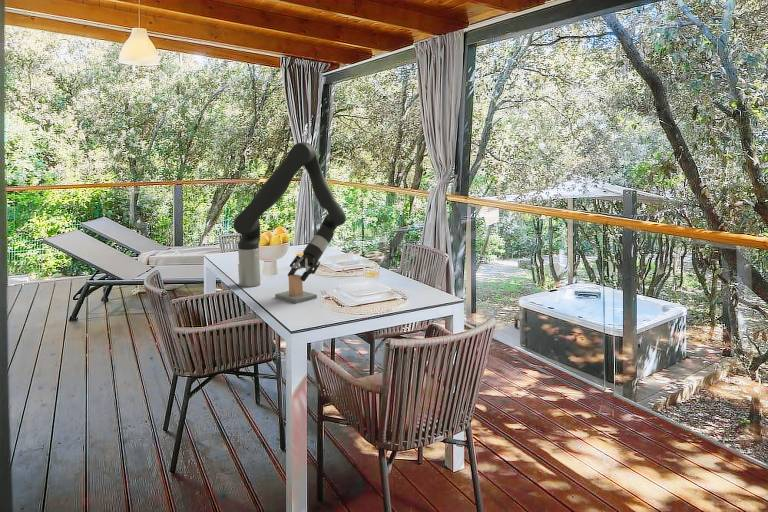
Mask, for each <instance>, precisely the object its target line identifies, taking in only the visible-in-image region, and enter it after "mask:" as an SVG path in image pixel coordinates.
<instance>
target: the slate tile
mask: <svg viewBox="0 0 768 512" xmlns="http://www.w3.org/2000/svg"><path fill="white" fill-rule="evenodd" d="M274 295H275V296H274V298H276V299H279V300H283V301H286V302H290V303H293V304H300V303H303V302H307V301H311V300H315V299H317V298H318V294H315V293H312V292H308V291H304V290H303V294H302V295H298V296H293V295H290V294H289V290H287V291H283V292H277V293H275V294H274Z"/></svg>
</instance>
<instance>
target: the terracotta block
mask: <svg viewBox="0 0 768 512" xmlns="http://www.w3.org/2000/svg"><path fill="white" fill-rule="evenodd" d="M301 276H302V274H301V275H300V274H296V273H295V274H294V275H290V276H289V277H288V291H289V294H290V295H293V296H298V295H302V294H303V291H304V290H303V281H302V280H301V279H300V278H301Z"/></svg>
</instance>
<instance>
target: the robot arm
mask: <svg viewBox="0 0 768 512" xmlns="http://www.w3.org/2000/svg"><path fill="white" fill-rule="evenodd" d="M303 167H304V168H305V171H306V173H307V174H308V176H309V180H310V183H311V186H312V190H313V194H314V195H315V197H316V200H317V201H318V204H319V206H320V207H321V208H322V209H325V210H326V212H327V214H326V215H325V217H324V218H323V220H322V222H321V224H320V227H319V228H318V230H317V231H316V232H315V234H314V235H313V237H312V238H311V239H310V240H309V242H308V244H307V245H306V247H304V249H303V250H302V256H299V254H298V255H296V256H295V257H294V258H293V260H292V262H291V263H290V264H289V267H290V270H289V272H288V273H287V277H288V278H289V276H290V275H295V274H296V273H297V271H298V270H302V269H305V271H303V273H302V274H301V278H300V279H301V280H302V282H305V281H306V280H307V279H308V277H309V276H310V275H311V274H312V275H314V274H316V272H317V270H318V268H319V266H320V265H321V261H319V260H320V259H321V258H322V256H323V255H324V252H325V251H326V249H327V248H328V247H329V246H328V245H329V244H330V242H331V241H332V239H333V237H334V235H335V233H334V232H335V231H336V229H337V228H338V227H340V226H343V225H344V224H345V223H346V221H347V219H346V218H347V216H346V213H345V210H343V208H342V207H341V204H339V203H338V201H337V200H336V199H335V196H334V194H333V193H332V191H331V189H330V186H329V185H328V183H327V180H326V178H325V175H324V174H323V171H322V169H321V168H322V167H321V165H320V162H319V160H318V155H317V152H316V150H315V147H314V146H313V145H312V144H311V143H309V142H297V143H295V144H294V145H292V147H291V149H290V150H289V151H288V153H287V154H286V156H285V158H284V160H283V161H282V162H281V164H280V165H279V166H278V167H277V169H276V170H274V172H273V173H271V175H270V176H269V178H267V180H266V181H265V182H264V184H263V185H262V186H261V188H260V189H259V190H258V192H257V193H256V194H255V196H254V197H253V198H252V200H251V201H250V203H248V205H247V206H246V207H245V208H244V209H243V210H242V211H241V212H240V213H239V214H238V215H237V216H236V217H235V218H234V221H233V229H234V231H235V232H236V233H237V234H239V235H241V236H240V239H239V241H238V242H237V249H238V251H237V252H238V264H237V265H238V283H239V285H240V286H241V287H247V288H248V287H256V286H260V285H261V264H260V248H259V247H260V246H259V245H260V240H261V222H260V218H261V216H262V215H263V214H264V213H265V212H267V211H268V210H269V209H271V208H272V207H273V206H274V205H275V204H276V203H277V202H279V200H280V199H281V198H282V197H283V196H284V194H285V193H286V191H288V189H289V186H290V184H291V183H292V182H291V181H292V180H293V179H294V176H295V175H296V174H297V173H298V171H299V170H300V169H301V168H303Z"/></svg>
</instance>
